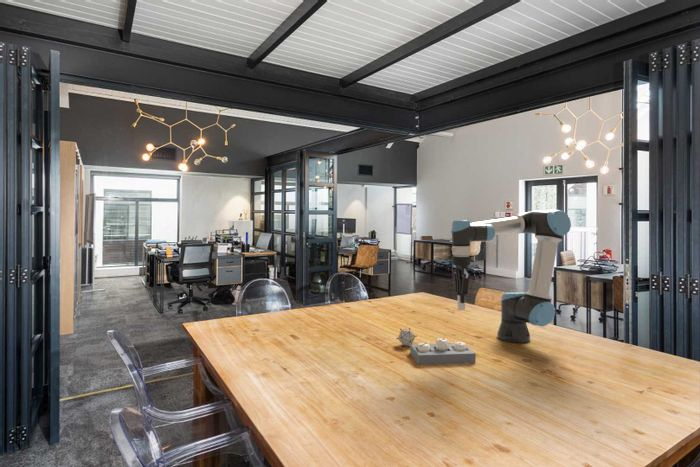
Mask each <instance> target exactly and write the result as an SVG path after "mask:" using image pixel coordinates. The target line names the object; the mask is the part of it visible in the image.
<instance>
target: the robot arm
mask: <svg viewBox="0 0 700 467" xmlns="http://www.w3.org/2000/svg"><path fill="white" fill-rule="evenodd" d="M571 226H572V224H571V219H570V217H569V215H568V214H567V213H566V212H565V211H564V210H562V209H561V210H560V209H544V210H543V209H542V210H540V209H538V210H535V209H534V210H531V211H526V212H521V213H516V214H513V215H512V216H511V217H504V218H503V217H502V218H496V219H488V220H481V221H474V222H471V221H470V220H469V219H454V220H452V224H451V238H452V239H451V241H452V242H451V243H452V247H451V251H452V252H451V254H452V257H451V260H452V261H451V262H452V265H453V266H455V269H454V270H452V274H453V279H454V280H453V281H454V289H455V290H454V291H455V293H456V295H457V310H458V311H465V310H466V296H468V293H469V292H468V291H469V282H470V276H471V273H469V272H468V266H470V265H471V256H470V255H471V242H490V241H492V240H494V238H495V236H499V235H504V234H505V235H506V234H512V233H515V234H518V235H519V234H532V235H534V237H535V239H536V240H537V243H536V247H535V248H536V249H535V253H534V260H533V265H532V271H531V275H530V282H529V286H528V290H527V291H526V292H522V291H518V292H517V291H513V292H509V291H508V292H504V293H502V295H501V303H500V304H501V305H500V306H501V308H500V309H501V310H500V311H501V313H500V314H501V320H500V321H501V322H500V324H499V327H498V330H497V335H496V337H497V338H498V339H499V340H501V341H504V342H510V343H517V344H521V343H523V344H524V343H529V342H530V341H531V334H530V331H529V329H528V324H531V325H533V326H537V327H546V326H548V325H549V324H551V323H552V321H553V320H554V319H555V316H556V308H555V306H554V304H553V303H552V297H551V296H550V289H551V284H552V278H553V273H554V272H553V271H554V266H555V263H556V262H555V260H556V257H557V256H556V255H557V252H558V251H557V249H558V245H559V243H561V242H562V241H563V238H564V236H566V235H567V234H568V233H569V232H570V230H571Z"/></svg>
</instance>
